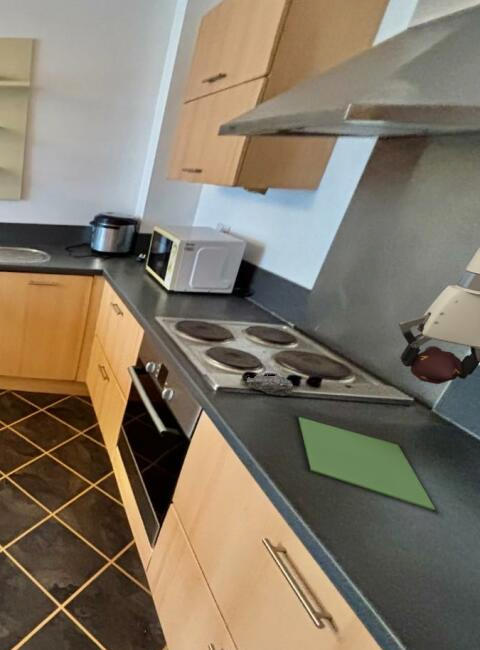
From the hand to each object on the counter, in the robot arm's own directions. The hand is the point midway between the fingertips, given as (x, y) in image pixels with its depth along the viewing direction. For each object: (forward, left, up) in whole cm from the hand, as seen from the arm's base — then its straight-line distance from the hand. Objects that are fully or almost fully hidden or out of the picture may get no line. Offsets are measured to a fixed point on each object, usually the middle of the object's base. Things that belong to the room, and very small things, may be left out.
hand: (431, 369), depth 84 cm
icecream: (0, 0, -3) cm, 3 cm away
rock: (+22, -11, -18) cm, 31 cm away
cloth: (+7, +12, -18) cm, 23 cm away
